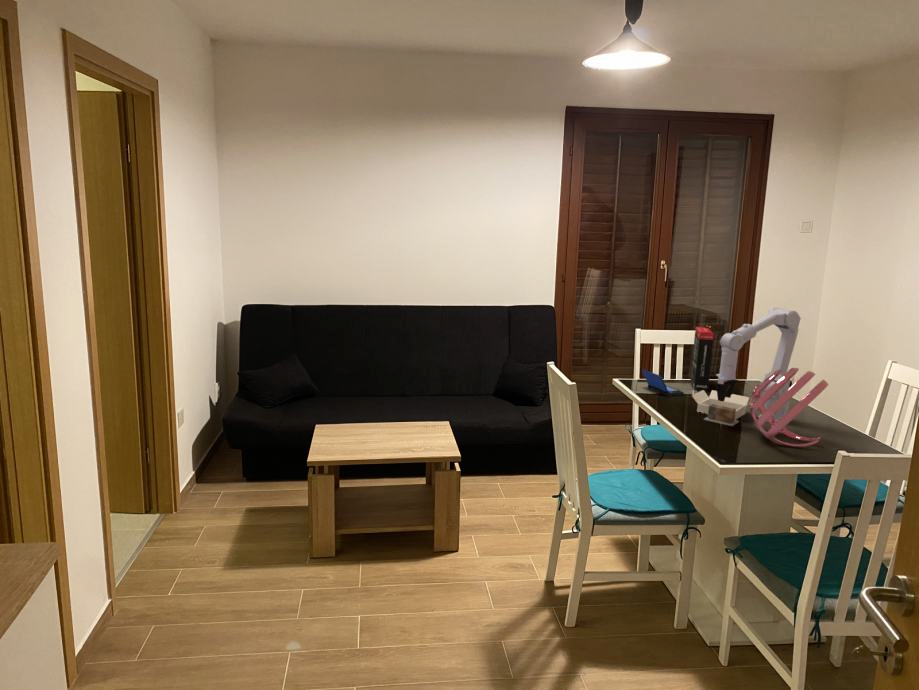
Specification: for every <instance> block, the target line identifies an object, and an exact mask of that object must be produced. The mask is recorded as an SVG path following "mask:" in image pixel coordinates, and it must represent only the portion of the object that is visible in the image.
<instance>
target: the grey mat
mask: <svg viewBox="0 0 919 690" xmlns="http://www.w3.org/2000/svg"><path fill="white" fill-rule="evenodd" d="M703 421H706V422H712V423H716V424H721V425H725V426H730V427H734V426H735V425H736V424H738V423H739V422H740V421H739V420H737V419H736V420H734V422H733V423H726V422H722V421H717V420H713V419H708V416H707V417H705V418H703Z"/></svg>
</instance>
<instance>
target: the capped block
mask: <svg viewBox="0 0 919 690" xmlns="http://www.w3.org/2000/svg"><path fill="white" fill-rule="evenodd" d="M735 412H736V409H733V408H728V407H724V406H719V405H714V404H712V405H710V406H709V410H708V414H707V417H708V419H713V420H717V421H722V422H726V423H733V422H734V419H735Z"/></svg>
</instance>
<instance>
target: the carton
mask: <svg viewBox="0 0 919 690" xmlns="http://www.w3.org/2000/svg"><path fill="white" fill-rule="evenodd" d="M691 397H692V398H693V400H694V401H695V402H696V403H697V405H696V406H697V409H696V412H697V413H699V412H701V414H704V413H705V415H708V410H709V406H710V405H712V404H714V405H719V406H724V407H728V408H733V409H736V412H735V419H734V420H736V421H737V420H738V419H739V418H741V417H742V416H744V415H746V411H747V406H750V402H749V400H750V396H749V397H748V396H744V395H738V394H734V393H732V395H731V397H730V398H728V397H725V400H724V401H718V397H717V390H713V389H712V390H711V392H710V394H709V395H708V394H707V393H706V391H704V390H699V391H698V392H696V393H694V394H692V395H691ZM755 400H756V399H754V400H753V402H756V401H755Z"/></svg>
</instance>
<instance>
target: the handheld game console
mask: <svg viewBox="0 0 919 690" xmlns="http://www.w3.org/2000/svg"><path fill="white" fill-rule="evenodd" d="M641 371H642V375H643V377H644V378H645V380H646V383H647V388H648V387H649V389H651V388H652V389H651V390H653V389H654V390H653V391H655V390H657V391H656V392H658V391H659V392H658V393H660V394H662V395H665V396H667V397H669V396H672V395H673V396H683V395H685V393H684V392H683V391H682V390H680V389H677V388H674V387H672V386H669V385H667V384H666V383H665V381H664V379H663V377H662V376H661V375H659V374H657V373H654V372H653V371H652V372H651V371H649V370H646V369H642V370H641Z"/></svg>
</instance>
